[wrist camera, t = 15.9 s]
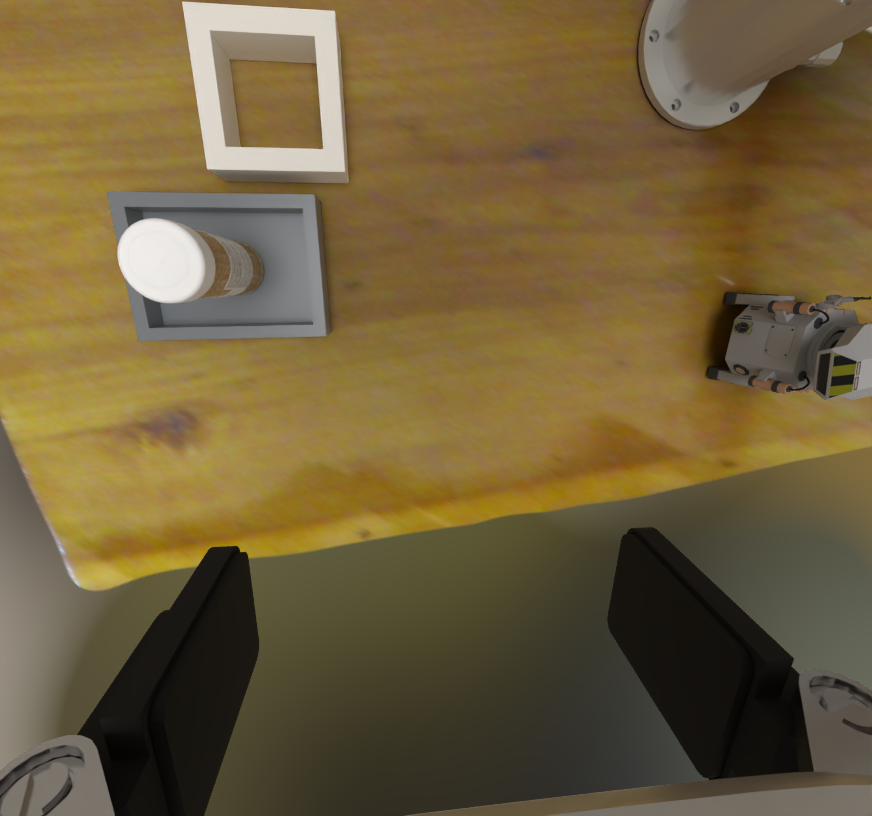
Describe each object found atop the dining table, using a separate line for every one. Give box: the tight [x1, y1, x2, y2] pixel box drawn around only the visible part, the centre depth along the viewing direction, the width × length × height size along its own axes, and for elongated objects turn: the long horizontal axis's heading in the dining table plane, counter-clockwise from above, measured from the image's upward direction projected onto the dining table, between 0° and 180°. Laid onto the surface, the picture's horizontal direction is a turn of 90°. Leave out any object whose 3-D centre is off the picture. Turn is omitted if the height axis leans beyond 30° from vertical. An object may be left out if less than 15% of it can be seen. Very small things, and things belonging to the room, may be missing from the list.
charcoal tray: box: [107, 192, 331, 341], centre depth 35 cm, size 15×11×4 cm
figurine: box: [707, 292, 872, 400], centre depth 38 cm, size 9×12×15 cm
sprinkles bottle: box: [118, 218, 264, 303], centre depth 30 cm, size 5×5×14 cm
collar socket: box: [182, 2, 349, 183], centre depth 32 cm, size 10×10×4 cm
